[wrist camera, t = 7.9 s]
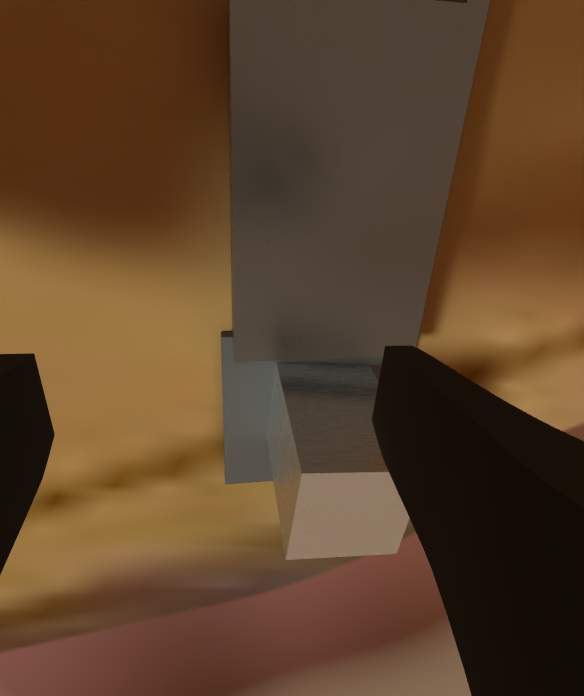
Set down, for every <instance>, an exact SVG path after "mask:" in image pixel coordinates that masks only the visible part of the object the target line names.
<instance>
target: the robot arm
mask: <svg viewBox="0 0 584 696" xmlns="http://www.w3.org/2000/svg"><path fill="white" fill-rule="evenodd" d="M372 423H373V426H374V430H375V434H376V437H377V441H378V444H379V447H380V451H381V454H382V457H383V460H384V462H385V464H386V467H387V469H388V471H389V474H390V476H391V478H392V480H393V483H394V485H395V487H396V489H397V491H398V494H399V496H400V498H401V500H402V502H403V505H404V507H405V509H406V511H407V513H408V516H409V518H410V520H411V522H412V524H413V526H414V529H415V531H416V533H417V535H418V537H419V540H420V542H421V544H422V546H423V549H424V551H425V554H426V556H427V558H428V561H429V563H430V566H431V568H432V571H433V574H434V577H435V580H436V583H437V586H438V589H439V592H440V595H441V598H442V601H443V604H444V607H445V610H446V613H447V615H448V619H449V622H450V625H451V628H452V631H453V635H454V638H455V641H456V645H457V648H458V651H459V654H460V657H461V661H462V664H463V667H464V670H465V674H466V677H467V681H468V684H469V688H470V691H471V695H472V696H584V441H582V440H580V439H578V438H575V437H573V436H571V435H569V434H567V433H565V432H563V431H560V430H558V429H556V428H554V427H552V426H550V425H548V424H546V423H544V422H542V421H540V420H538V419H537V418H535V417H533V416H531V415H529V414H527V413H526V412H524V411H522V410H520V409H518V408H517V407H515V406H513V405H511V404H509V403H507V402H506V401H504V400H502V399H501V398H499V397H497V396H495V395H494V394H492V393H490V392H489V391H487V390H485V389H484V388H482V387H480V386H479V385H477V384H476V383H474V382H472V381H471V380H469V379H467V378H466V377H464V376H463V375H461V374H459V373H458V372H456V371H455V370H453V369H451V368H450V367H448V366H447V365H445V364H443V363H442V362H440V361H439V360H437V359H435V358H434V357H432V356H430V355H429V354H427V353H425V352H423V351H422V350H420V349H418V348H416V347H414V346H412V345H408V346H385V349H384V354H383V360H382V365H381V371H380V376H379V382H378V387H377V393H376V398H375V404H374V409H373V415H372ZM53 438H54V430H53V426H52V422H51V418H50V415H49V411H48V407H47V403H46V399H45V395H44V391H43V387H42V383H41V379H40V375H39V371H38V367H37V363H36V360H35V356H34V354H0V574H1V572H2V570H3V567H4V565H5V563H6V561H7V558H8V556H9V554H10V552H11V549H12V547H13V545H14V543H15V540H16V538H17V536H18V534H19V531H20V529H21V527H22V525H23V522H24V520H25V518H26V516H27V513H28V511H29V509H30V506H31V504H32V502H33V499H34V497H35V495H36V493H37V490H38V488H39V485H40V483H41V481H42V478H43V475H44V471H45V468H46V464H47V461H48V458H49V454H50V450H51V446H52V442H53Z"/></svg>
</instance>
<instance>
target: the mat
mask: <svg viewBox="0 0 584 696" xmlns="http://www.w3.org/2000/svg"><path fill="white" fill-rule="evenodd" d="M221 348H222V383H223V418H224V453H225V484H236V483H249V482H262V481H273V475H272V468H271V462H270V456H269V449H268V443H267V430H268V422H269V415H270V407H271V399H272V391H273V384H274V376H275V368H276V362H291V363H328V364H365V365H369V366H370V367H371V369H372V371H373V373H374V375H375V377H376V379H377V380H378V382H379V376H380V371H381V365H382V360H383V357H366V358H338V359H311V360H284V361H257V362H234V353H233V333H232V332H221Z"/></svg>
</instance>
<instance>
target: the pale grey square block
mask: <svg viewBox="0 0 584 696" xmlns="http://www.w3.org/2000/svg"><path fill="white" fill-rule="evenodd" d="M377 387H378V380H377V379H376V377H375V375H374V373H373V371H372V369H371V367H370V366H369V365H365V364H328V363H291V362H276V368H275V376H274V384H273V391H272V399H271V407H270V415H269V422H268V430H267V443H268V449H269V456H270V462H271V468H272V475H273V481H274V488H275V494H276V500H277V507H278V513H279V519H280V526H281V532H282V539H283V545H284V551H285V558H286V560H291V559H309V558H327V557H345V556H363V555H378V554H379V555H381V554H396V553H397V551H398V548H399V545H400V543H401V540H402V537H403V534H404V532H405V529H406V526H407V523H408V521H409V516H408V513H407V511H406V509H405V507H404V505H403V502H402V500H401V498H400V496H399V494H398V491H397V489H396V487H395V485H394V483H393V480H392V478H391V476H390V474H389V471H388V469H387V467H386V464H385V462H384V460H383V457H382V454H381V451H380V447H379V444H378V441H377V437H376V434H375V430H374V426H373V423H372V415H373V409H374V404H375V398H376V393H377Z"/></svg>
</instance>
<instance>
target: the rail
mask: <svg viewBox="0 0 584 696" xmlns="http://www.w3.org/2000/svg"><path fill="white" fill-rule="evenodd" d="M489 4H490V0H444V1H437V0H228V68H229V137H230V206H231V275H232V333H233V353H234V362H257V361H284V360H311V359H338V358H366V357H383V354H384V349H385V346H408V345H412V346H414V347H416V345H417V340H418V336H419V331H420V326H421V322H422V317H423V312H424V308H425V303H426V298H427V294H428V289H429V284H430V280H431V275H432V270H433V266H434V261H435V256H436V252H437V247H438V242H439V238H440V233H441V228H442V224H443V219H444V214H445V210H446V205H447V200H448V196H449V191H450V186H451V182H452V177H453V172H454V168H455V163H456V158H457V154H458V149H459V144H460V140H461V135H462V130H463V126H464V121H465V116H466V112H467V107H468V102H469V98H470V93H471V88H472V84H473V79H474V74H475V70H476V65H477V60H478V56H479V51H480V46H481V42H482V37H483V32H484V28H485V23H486V18H487V14H488V9H489Z"/></svg>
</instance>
